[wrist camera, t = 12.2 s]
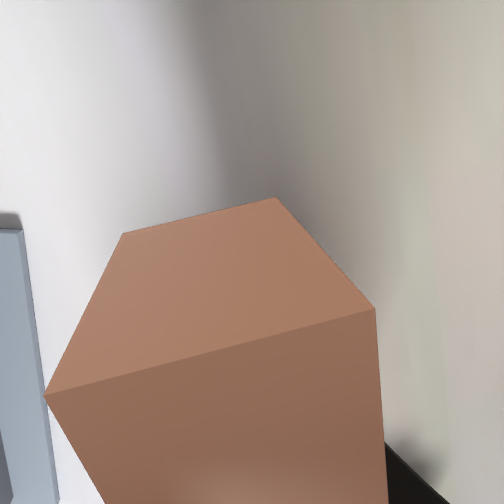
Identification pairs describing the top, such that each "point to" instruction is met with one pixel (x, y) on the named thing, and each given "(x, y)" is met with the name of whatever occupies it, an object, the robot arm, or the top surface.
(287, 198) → the top surface
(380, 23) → the top surface
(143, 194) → the top surface
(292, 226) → the salmon pink cuboid
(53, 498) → the jig
